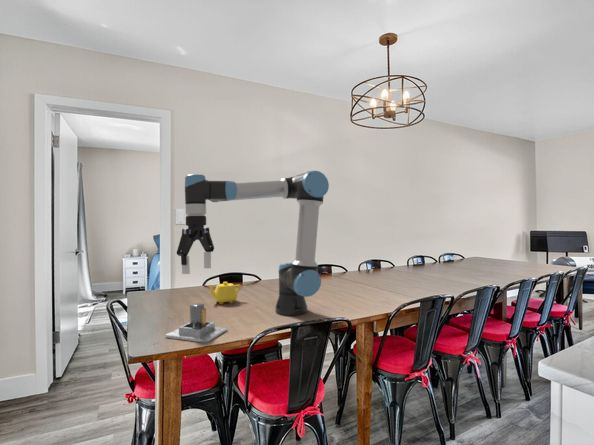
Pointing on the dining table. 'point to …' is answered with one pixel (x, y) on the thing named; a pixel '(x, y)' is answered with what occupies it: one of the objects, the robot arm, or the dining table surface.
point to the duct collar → (197, 333)
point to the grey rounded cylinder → (197, 315)
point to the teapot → (225, 292)
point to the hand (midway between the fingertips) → (197, 270)
